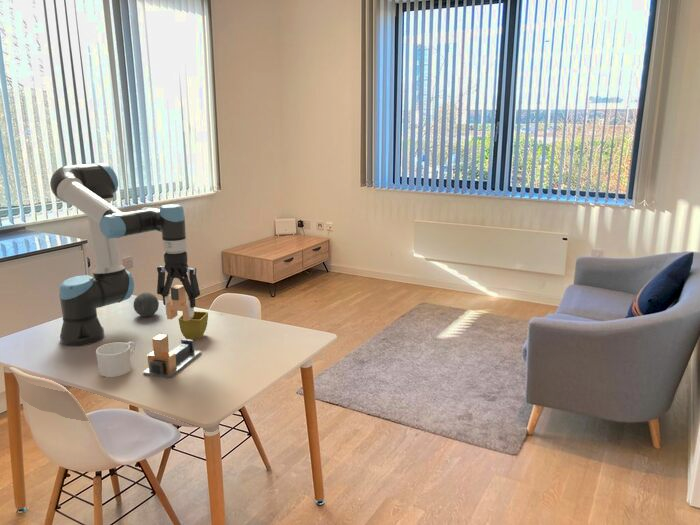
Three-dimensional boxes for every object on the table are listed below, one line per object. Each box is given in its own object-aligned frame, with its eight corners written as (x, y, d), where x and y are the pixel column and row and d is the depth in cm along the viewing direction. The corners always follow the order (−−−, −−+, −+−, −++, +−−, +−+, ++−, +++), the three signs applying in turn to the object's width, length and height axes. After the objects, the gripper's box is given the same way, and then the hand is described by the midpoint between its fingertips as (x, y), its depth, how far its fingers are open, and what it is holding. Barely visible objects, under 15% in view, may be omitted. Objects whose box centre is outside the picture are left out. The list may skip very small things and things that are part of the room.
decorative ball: (164, 315, 239) (162, 293, 236) (141, 321, 232) (139, 298, 229) (152, 310, 246) (150, 288, 243) (130, 315, 239) (128, 293, 236)
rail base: (143, 374, 186) (140, 339, 183) (176, 350, 205) (174, 318, 202) (170, 378, 184) (167, 342, 181) (201, 353, 203) (199, 321, 199)
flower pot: (209, 333, 221) (208, 311, 219) (202, 342, 213) (200, 319, 210) (188, 332, 222) (186, 310, 219) (179, 341, 213) (177, 318, 211)
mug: (111, 380, 182) (109, 357, 180) (91, 372, 187) (88, 350, 185) (146, 365, 193) (144, 343, 191) (126, 358, 198) (123, 336, 196)
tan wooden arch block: (193, 317, 197) (191, 285, 194) (186, 321, 193) (184, 289, 190) (173, 315, 199) (171, 283, 196) (166, 319, 195) (163, 287, 192)
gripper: (141, 251, 189) (147, 315, 195) (197, 255, 184) (201, 321, 190) (154, 246, 196) (160, 308, 202) (208, 250, 191) (212, 314, 197)
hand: (180, 314), depth 196 cm, fingers closed on tan wooden arch block, 8 cm apart
